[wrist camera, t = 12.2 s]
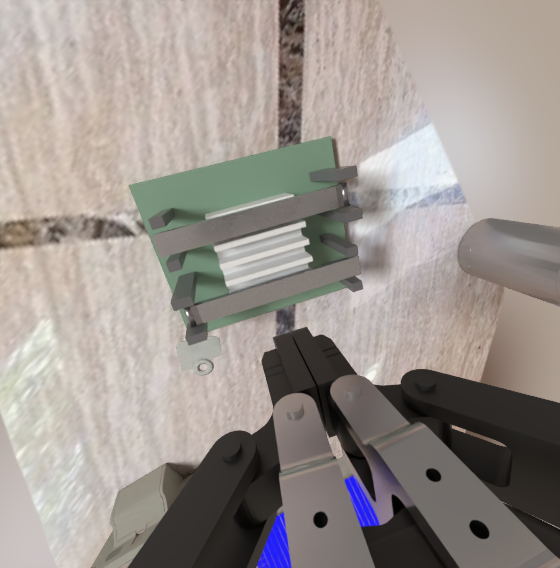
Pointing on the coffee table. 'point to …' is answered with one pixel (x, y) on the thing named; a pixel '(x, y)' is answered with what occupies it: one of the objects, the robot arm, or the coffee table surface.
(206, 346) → the key tag
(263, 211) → the strap
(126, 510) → the digital clock
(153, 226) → the heatsink board
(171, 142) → the coffee table surface
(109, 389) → the coffee table surface
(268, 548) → the blue ribbed slab
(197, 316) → the strap
